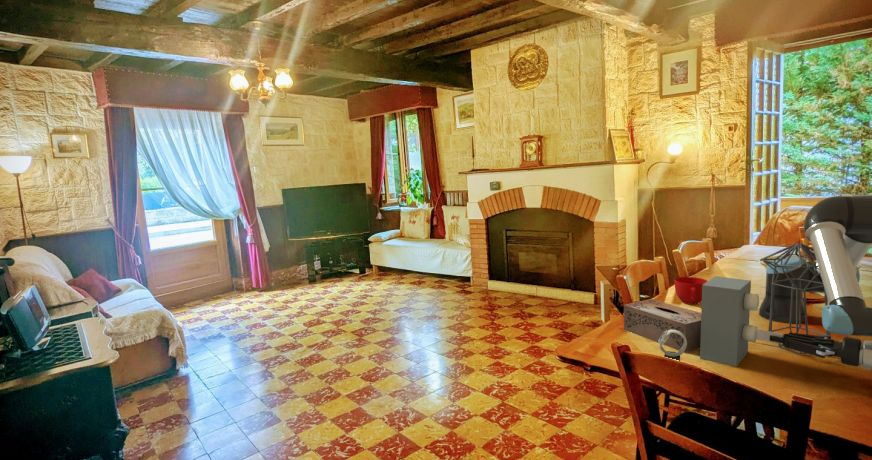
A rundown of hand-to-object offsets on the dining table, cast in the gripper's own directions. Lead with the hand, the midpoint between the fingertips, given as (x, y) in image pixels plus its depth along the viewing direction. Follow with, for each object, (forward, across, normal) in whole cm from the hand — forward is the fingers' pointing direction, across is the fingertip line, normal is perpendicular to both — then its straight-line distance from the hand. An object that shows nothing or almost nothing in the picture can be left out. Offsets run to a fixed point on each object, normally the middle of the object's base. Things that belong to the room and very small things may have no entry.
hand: (757, 334), depth 143 cm
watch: (+19, +17, +9) cm, 27 cm away
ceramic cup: (+34, -52, +9) cm, 63 cm away
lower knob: (+5, 0, +3) cm, 6 cm away
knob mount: (+9, 0, +9) cm, 13 cm away
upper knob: (+5, 0, -7) cm, 9 cm away
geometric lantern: (-7, -19, +9) cm, 22 cm away
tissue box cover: (+28, -6, +10) cm, 31 cm away
